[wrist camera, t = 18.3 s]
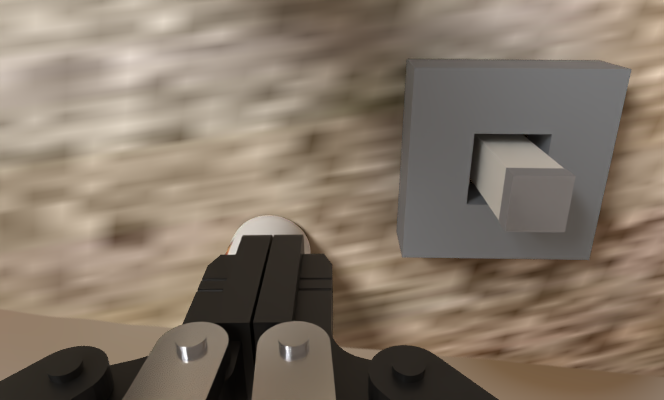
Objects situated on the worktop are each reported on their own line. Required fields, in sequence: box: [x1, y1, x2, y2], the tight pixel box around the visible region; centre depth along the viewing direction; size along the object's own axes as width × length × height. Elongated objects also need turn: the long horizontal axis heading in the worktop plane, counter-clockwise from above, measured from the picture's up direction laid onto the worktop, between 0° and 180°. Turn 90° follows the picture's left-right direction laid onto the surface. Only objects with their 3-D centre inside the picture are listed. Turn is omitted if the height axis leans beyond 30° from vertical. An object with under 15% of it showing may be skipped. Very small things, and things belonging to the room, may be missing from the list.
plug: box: [470, 134, 576, 232], centre depth 40 cm, size 4×4×12 cm
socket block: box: [397, 59, 631, 260], centre depth 43 cm, size 16×16×5 cm
